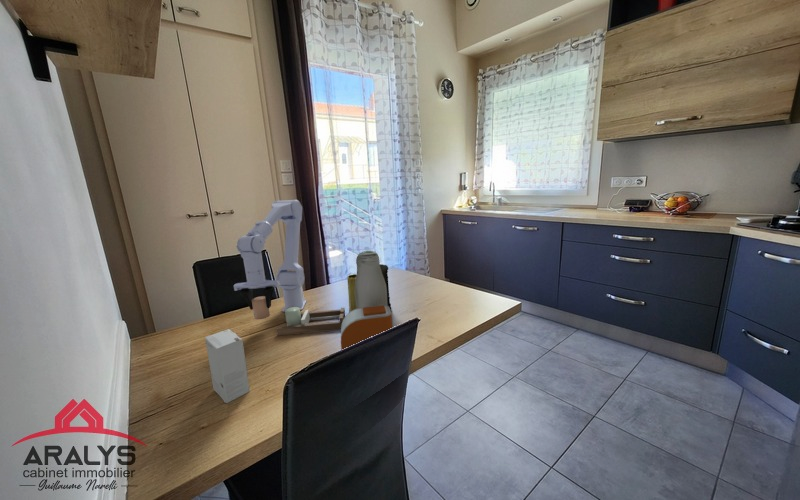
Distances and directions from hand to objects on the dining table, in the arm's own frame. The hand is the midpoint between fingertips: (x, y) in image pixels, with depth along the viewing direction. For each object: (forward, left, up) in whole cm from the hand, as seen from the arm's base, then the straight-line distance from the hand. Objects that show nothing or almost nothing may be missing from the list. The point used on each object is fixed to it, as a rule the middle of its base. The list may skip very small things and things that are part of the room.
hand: (260, 307), depth 105 cm
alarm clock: (+22, +37, -9) cm, 43 cm away
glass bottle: (+10, +39, -8) cm, 41 cm away
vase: (-9, +33, -8) cm, 35 cm away
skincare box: (+33, +3, -8) cm, 34 cm away
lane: (0, +17, -8) cm, 18 cm away
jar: (0, 0, -3) cm, 3 cm away
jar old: (0, +11, -8) cm, 13 cm away
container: (-6, +42, -8) cm, 43 cm away
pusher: (0, +21, -8) cm, 23 cm away
